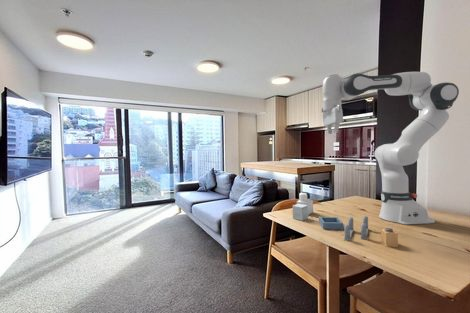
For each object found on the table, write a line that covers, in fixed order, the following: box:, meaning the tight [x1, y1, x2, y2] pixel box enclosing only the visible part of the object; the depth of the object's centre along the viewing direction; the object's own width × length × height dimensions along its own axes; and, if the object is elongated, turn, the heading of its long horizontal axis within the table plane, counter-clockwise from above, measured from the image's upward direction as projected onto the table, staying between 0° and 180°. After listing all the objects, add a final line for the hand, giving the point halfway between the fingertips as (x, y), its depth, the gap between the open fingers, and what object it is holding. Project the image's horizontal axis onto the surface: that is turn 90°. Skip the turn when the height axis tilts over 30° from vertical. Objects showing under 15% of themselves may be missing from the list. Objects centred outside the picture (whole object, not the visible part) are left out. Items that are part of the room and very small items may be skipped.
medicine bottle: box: [296, 191, 314, 216], centre depth 130 cm, size 7×7×12 cm
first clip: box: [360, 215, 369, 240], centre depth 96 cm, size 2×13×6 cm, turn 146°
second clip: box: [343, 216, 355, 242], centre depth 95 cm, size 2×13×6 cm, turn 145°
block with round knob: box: [380, 227, 399, 247], centre depth 85 cm, size 4×4×6 cm
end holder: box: [318, 216, 344, 231], centre depth 107 cm, size 9×9×3 cm
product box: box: [292, 203, 309, 222], centre depth 120 cm, size 6×6×7 cm
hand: (332, 133), depth 115 cm, fingers open, 8 cm apart
